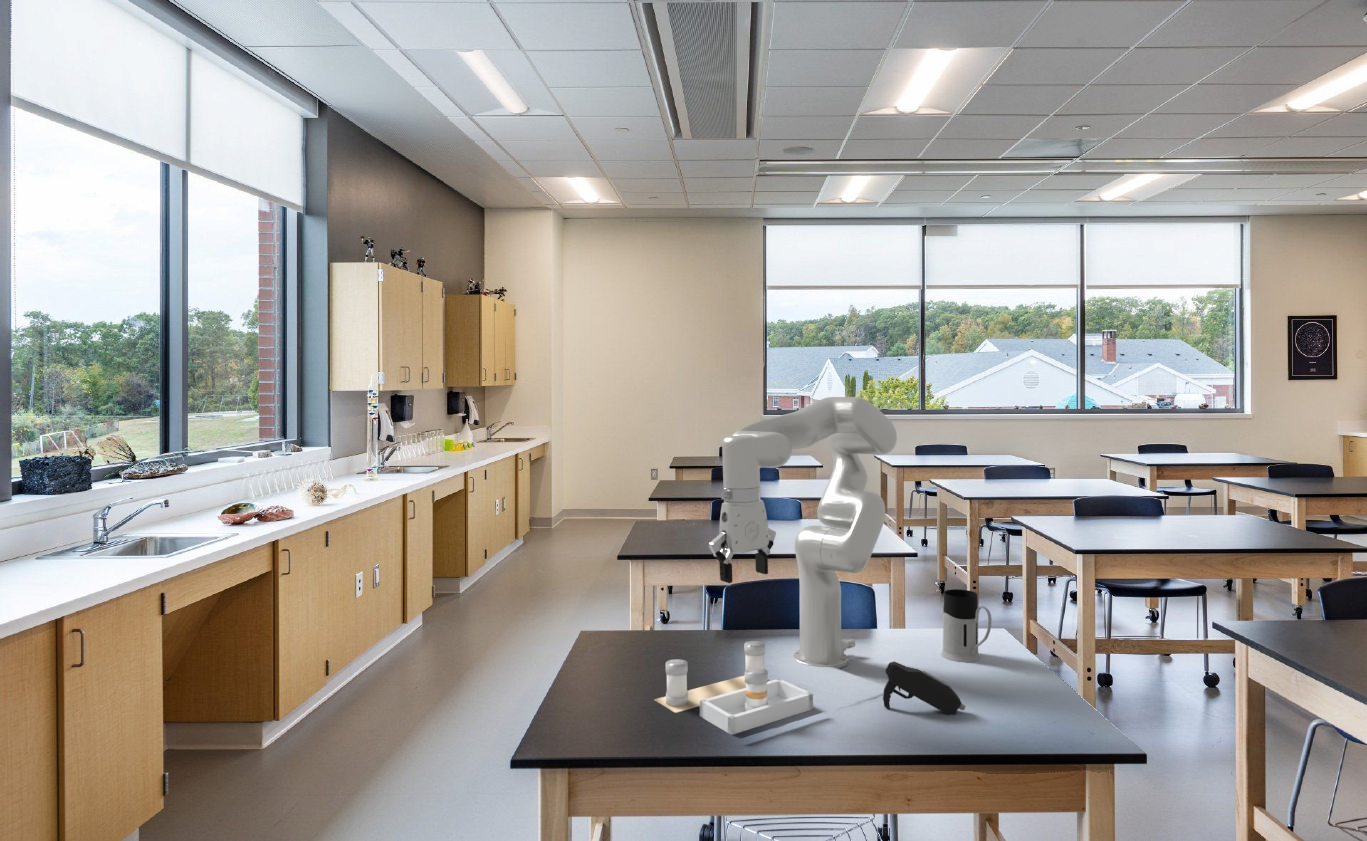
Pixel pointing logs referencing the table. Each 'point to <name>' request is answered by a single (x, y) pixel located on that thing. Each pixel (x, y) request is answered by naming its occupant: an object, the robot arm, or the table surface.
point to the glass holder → (962, 626)
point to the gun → (920, 688)
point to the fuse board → (707, 693)
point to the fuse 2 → (754, 654)
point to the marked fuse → (756, 688)
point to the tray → (734, 718)
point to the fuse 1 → (676, 683)
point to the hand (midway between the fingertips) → (744, 577)
